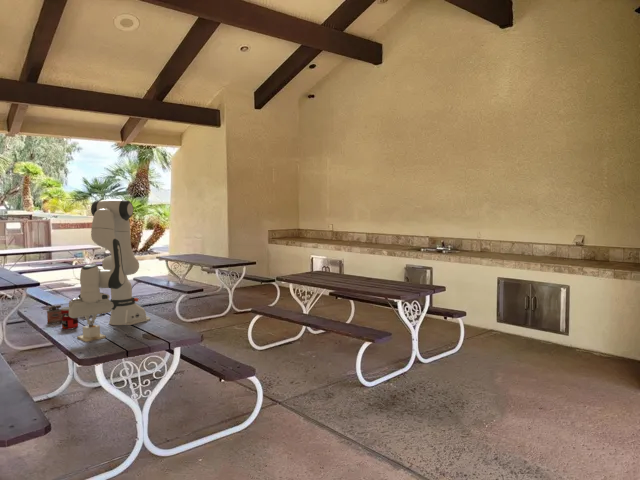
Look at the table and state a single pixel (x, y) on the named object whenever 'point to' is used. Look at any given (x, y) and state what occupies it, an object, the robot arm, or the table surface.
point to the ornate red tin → (54, 315)
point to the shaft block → (92, 337)
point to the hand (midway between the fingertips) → (90, 323)
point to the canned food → (68, 319)
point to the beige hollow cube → (91, 331)
